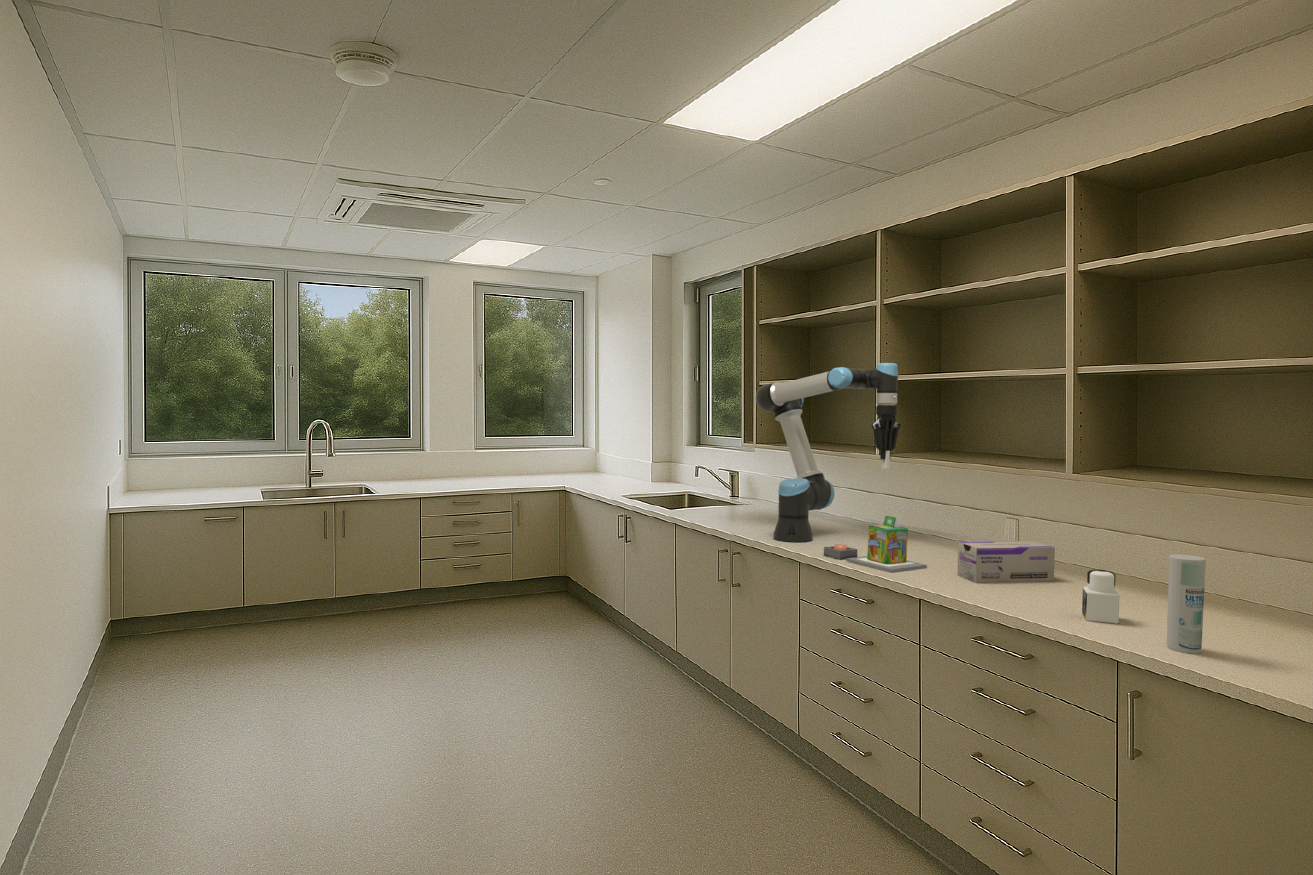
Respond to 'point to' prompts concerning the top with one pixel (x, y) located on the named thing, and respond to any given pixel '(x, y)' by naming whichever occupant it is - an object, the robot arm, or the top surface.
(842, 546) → the button
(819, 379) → the robot arm
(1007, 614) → the top surface
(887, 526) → the chalk box
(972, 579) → the surgical sutures box
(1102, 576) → the medicine bottle
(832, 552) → the button housing
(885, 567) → the board
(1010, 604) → the top surface
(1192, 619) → the spray can
